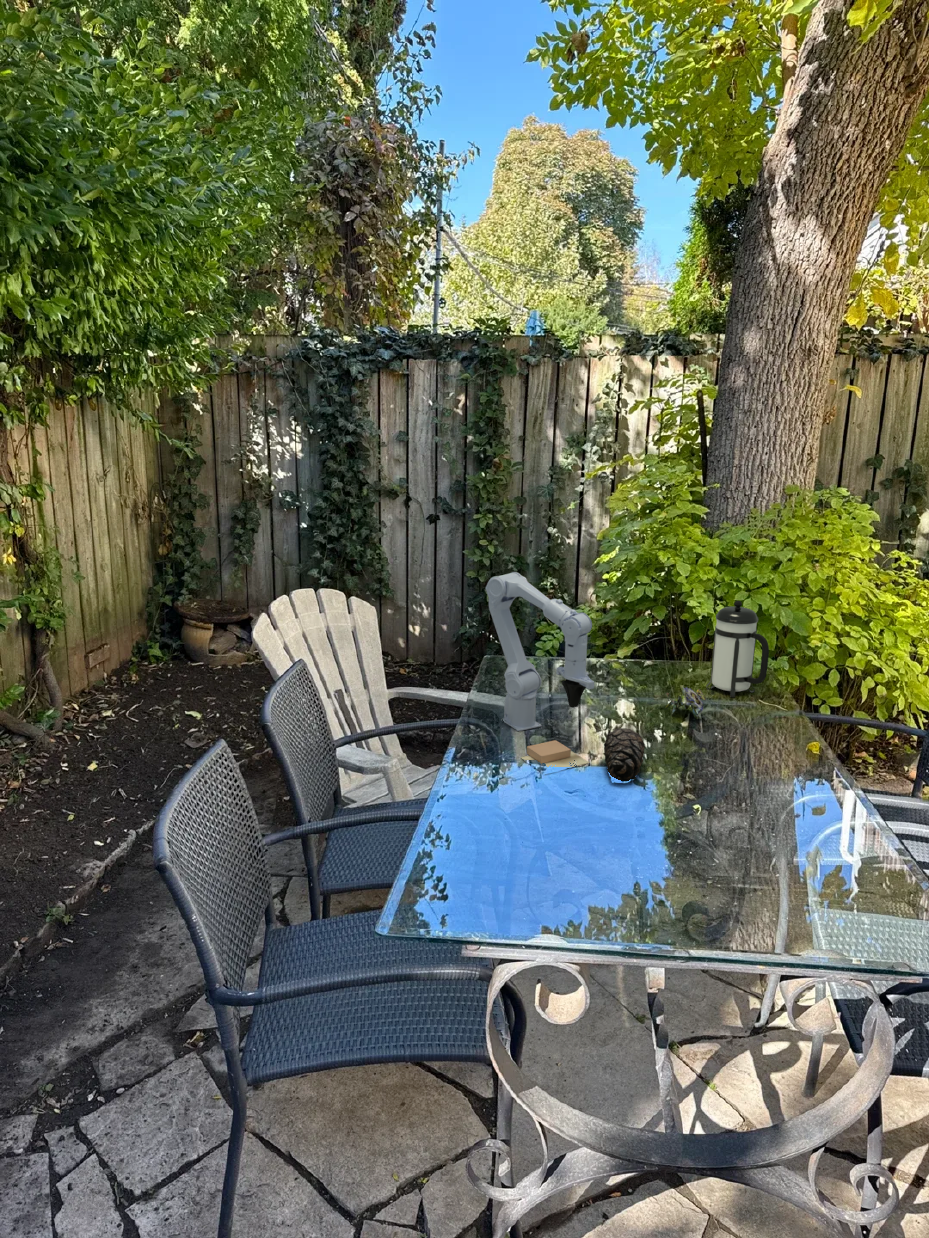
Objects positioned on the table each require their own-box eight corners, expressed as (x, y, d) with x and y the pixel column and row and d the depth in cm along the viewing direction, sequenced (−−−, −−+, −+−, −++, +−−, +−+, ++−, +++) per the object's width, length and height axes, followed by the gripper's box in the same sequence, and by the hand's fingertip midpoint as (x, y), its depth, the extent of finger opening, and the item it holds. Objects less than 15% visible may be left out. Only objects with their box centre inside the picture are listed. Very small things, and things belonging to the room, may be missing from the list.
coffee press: (706, 696, 252) (713, 605, 245) (706, 681, 267) (713, 594, 259) (764, 702, 247) (773, 609, 240) (761, 686, 262) (770, 597, 254)
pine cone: (606, 787, 191) (608, 748, 188) (601, 756, 208) (603, 720, 206) (650, 789, 190) (652, 750, 187) (641, 758, 207) (643, 722, 205)
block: (526, 746, 208) (541, 756, 202) (555, 740, 212) (570, 749, 206) (526, 753, 208) (541, 764, 202) (555, 747, 212) (570, 757, 206)
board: (520, 758, 206) (520, 757, 206) (564, 748, 213) (564, 746, 213) (544, 775, 197) (544, 773, 197) (589, 763, 203) (589, 762, 203)
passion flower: (696, 735, 236) (708, 713, 226) (659, 726, 237) (670, 704, 227) (698, 704, 243) (710, 682, 233) (663, 696, 244) (673, 673, 234)
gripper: (604, 663, 208) (602, 712, 211) (571, 649, 220) (570, 695, 224) (582, 667, 205) (580, 717, 208) (550, 653, 217) (549, 700, 220)
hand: (573, 706), depth 215 cm, fingers closed
